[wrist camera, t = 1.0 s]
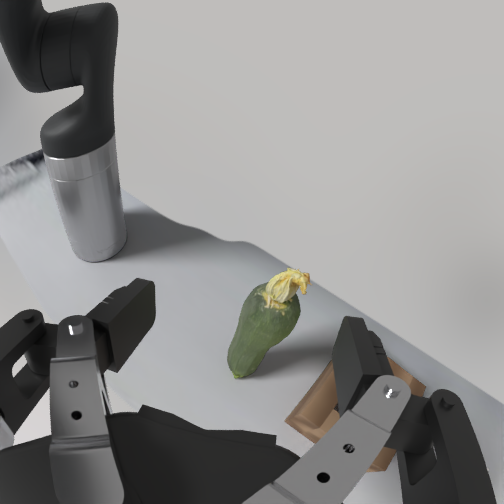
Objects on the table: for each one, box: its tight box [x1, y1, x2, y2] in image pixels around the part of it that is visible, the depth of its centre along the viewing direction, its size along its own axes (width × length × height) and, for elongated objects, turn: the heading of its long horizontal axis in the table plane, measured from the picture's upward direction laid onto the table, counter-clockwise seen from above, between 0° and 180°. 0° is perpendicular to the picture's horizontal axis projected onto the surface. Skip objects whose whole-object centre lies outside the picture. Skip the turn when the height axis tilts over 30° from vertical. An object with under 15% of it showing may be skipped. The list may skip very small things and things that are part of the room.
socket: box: [285, 357, 426, 472], centre depth 28 cm, size 12×12×6 cm
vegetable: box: [227, 268, 312, 379], centre depth 25 cm, size 4×4×20 cm
